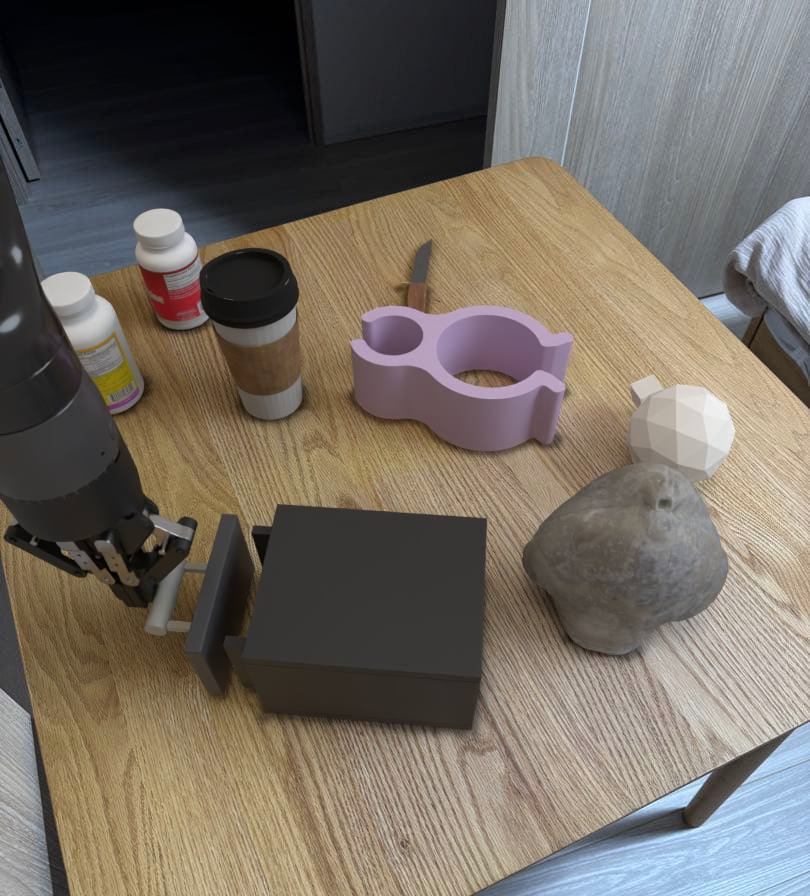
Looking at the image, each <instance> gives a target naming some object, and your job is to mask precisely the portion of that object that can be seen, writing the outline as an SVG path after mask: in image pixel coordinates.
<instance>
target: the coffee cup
mask: <svg viewBox="0 0 810 896" xmlns="http://www.w3.org/2000/svg"><path fill="white" fill-rule="evenodd" d="M199 281H200V289H201V292H200V300H201V304H202V307H203V310H204V312H205V313H206V315H207V316H208V317H209V318H208V319H210V320H211V327H212V330H213V333H214V336H215V338H216V340H217V343H218V345H219V347H220V350H221V353H222V355H223V357H224V360H225V362H226V365H227V367H228V369H229V373H230V374H231V377H232V379H233V382H234V383H235V387H236V390H237V391H238V395H239V397H240V399H241V403H242V405H243V407H244V409H245V411H246V412H247V413H248V414H250V415H251V416H253V417H254V418H257V419H260V420H264V421H276V420H280V419H283V418H286V417H288V416H290V415H291V414H293V413H294V412H295V411H296V410H298V408H299V407H300V405H301V403H302V400H303V387H302V375H301V371H302V370H301V369H302V368H301V367H302V366H301V345H300V343H301V342H300V320H299V309H298V306H297V304H298V302H299V299H300V289H299V283H298V279H297V277H296V275H295V274H294V272H293V269H292V267H291V264H290V262H289V261H288V259H287V257H285V256H284V255H283V254H281V253H280V252H278V251H275V250H273V249H269V248H263V247H246V248H245V247H243V248H238V249H234V250H231V251H227V252H225V253H222V254H220V255H217V256H216V257H214V258H212V259H210V260H209V261H208V262H206V263H205V264H204V265H202V269H201V271H200V274H199Z"/></svg>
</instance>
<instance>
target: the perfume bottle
mask: <svg viewBox="0 0 810 896" xmlns="http://www.w3.org/2000/svg"><path fill="white" fill-rule="evenodd" d="M629 389H630V395H631V402H632V403H633V405H635V407H636V408H637V409H635V410H634V411H633V413H632V414H631V415H630V418H629V423H628V427H627V432H626V436H625V443H626V446H627V449H628V452H629V455H630V458H631V461H632V464H637V463H656V464H662V465H666V466H669V467H671V468H674V469H676V470H677V471H679V472H680V473H682V474H684V476H685V477H686V478H687V479H689V480H690V481H691V482H692V483H693V484H696V483H699V482H703V481H707V480H711V478H712V477H713V476H714V475H715V473H716V472H717V471H718V469H719V468H720V467H721V466H722V464H723V463H724V462H725V461H726V459H727V458H728V457H729V454H730V451H731V448H732V446H733V445H732V444H733V442H734V439H735V436H736V432H737V431H736V429H735V425H734V422H733V419H732V417H731V414H730V411H729V407H728V405H727V404H726V403H725V402H724V401H722V400H721V399H720V398H718V397H717V396H716V395H714V394H713V393H712V392H710V391H709V390H707V389H706V388H705V387H703V386H697V385H689V384H679V383H675V384H673V385H671V386H668V387H666V388H664V386H663V385H662V384H661V382H660V381H659V380H658V378H657V377H656V376H655V375H654V374H653V373H652V374H650V375H647V376H645V377H643V378H640V379H639V380H636V381H634V382H632V383H629Z"/></svg>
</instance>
